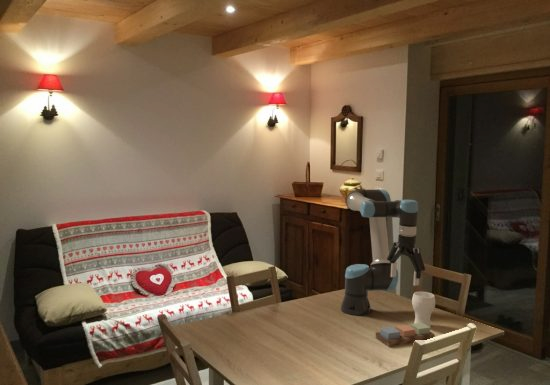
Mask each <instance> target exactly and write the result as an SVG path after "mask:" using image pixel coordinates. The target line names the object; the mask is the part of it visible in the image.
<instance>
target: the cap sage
mask: <svg viewBox="0 0 550 385" xmlns="http://www.w3.org/2000/svg"><path fill="white" fill-rule="evenodd" d="M410 327H412V328H413V329H415V333H416V334H418V335H423V334H429V333H430V332H431V327H429V326H427V325H425V324H423V323H416V324H414V323H410Z"/></svg>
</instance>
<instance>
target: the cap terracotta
mask: <svg viewBox="0 0 550 385" xmlns="http://www.w3.org/2000/svg"><path fill="white" fill-rule="evenodd" d="M395 329H396V330H398V331H400V336H402V337H409V336H415V329H413V328H412V327H411V325H409V324H404V325H403V324H402V325H395Z"/></svg>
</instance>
